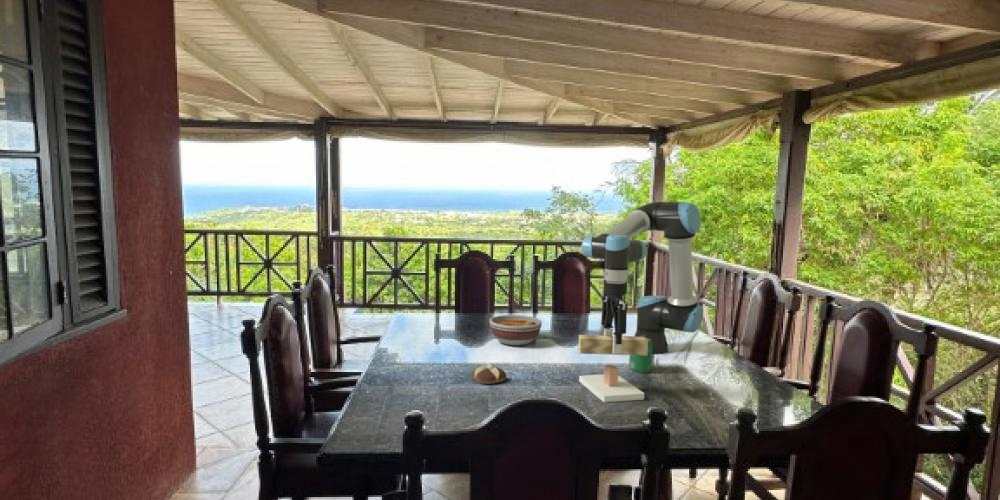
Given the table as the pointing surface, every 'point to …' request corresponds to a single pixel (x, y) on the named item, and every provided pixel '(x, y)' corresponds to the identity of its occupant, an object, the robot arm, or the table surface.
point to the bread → (488, 374)
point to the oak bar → (605, 345)
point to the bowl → (515, 329)
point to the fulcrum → (611, 386)
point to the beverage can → (641, 360)
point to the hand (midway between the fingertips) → (612, 350)
